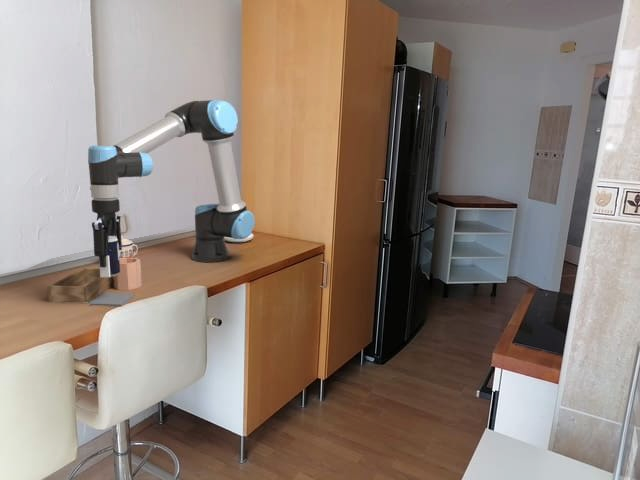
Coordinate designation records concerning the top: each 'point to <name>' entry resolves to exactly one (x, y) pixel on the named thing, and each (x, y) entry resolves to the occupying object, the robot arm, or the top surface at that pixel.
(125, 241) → the teacup with lid
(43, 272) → the top surface
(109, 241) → the beverage can
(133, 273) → the pot
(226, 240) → the white bowl
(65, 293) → the crate
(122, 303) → the coaster
